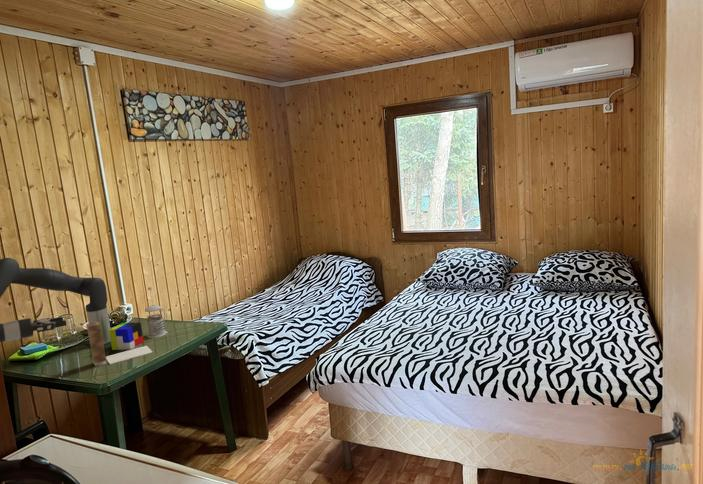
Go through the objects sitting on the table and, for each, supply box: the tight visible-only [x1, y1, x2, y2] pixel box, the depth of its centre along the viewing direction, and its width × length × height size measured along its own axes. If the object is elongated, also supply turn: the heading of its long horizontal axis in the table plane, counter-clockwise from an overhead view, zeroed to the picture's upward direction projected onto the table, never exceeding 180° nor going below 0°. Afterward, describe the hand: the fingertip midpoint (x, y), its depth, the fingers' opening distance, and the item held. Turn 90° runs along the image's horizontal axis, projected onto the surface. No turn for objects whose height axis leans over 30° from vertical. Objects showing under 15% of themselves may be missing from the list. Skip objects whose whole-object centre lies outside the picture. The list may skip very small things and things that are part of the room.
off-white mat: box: [105, 345, 153, 366], centre depth 219 cm, size 18×12×1 cm, turn 126°
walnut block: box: [86, 322, 108, 368], centre depth 211 cm, size 4×6×18 cm
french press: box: [144, 286, 168, 339], centre depth 245 cm, size 10×12×25 cm
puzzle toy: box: [109, 321, 145, 351], centre depth 232 cm, size 10×10×10 cm
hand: (64, 321), depth 202 cm, fingers open, 8 cm apart
